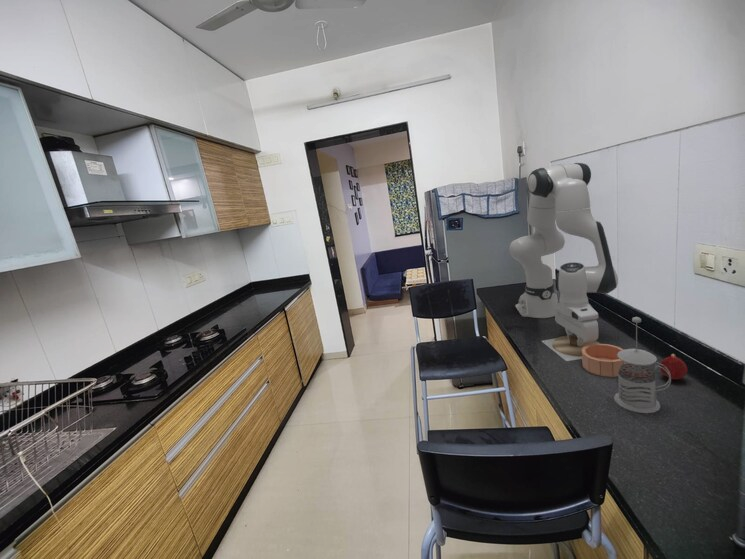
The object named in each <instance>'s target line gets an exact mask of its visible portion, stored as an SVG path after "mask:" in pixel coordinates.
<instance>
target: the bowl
mask: <svg viewBox="0 0 745 559" xmlns="http://www.w3.org/2000/svg"><path fill="white" fill-rule="evenodd" d="M622 350H625V349H624V348H622V347H620V346H616V345H613V344H608V343H600V344H591V345H586V346H585V347H583V348H582V359H581V361H582V362H581V363H582V368H583V369H584V370H586V371H587V372H589V373H591V374H594V375H597V376H601V377H609V378H610V377H611V378H615V377H618V372H619V370H620V366H621V365H623V364H628V363H626V362H623V361H622V360H620V359H619V358H618V355H617V354H618V352H619V351H622Z"/></svg>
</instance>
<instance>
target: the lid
mask: <svg viewBox="0 0 745 559" xmlns="http://www.w3.org/2000/svg"><path fill="white" fill-rule="evenodd" d="M554 339H555V338H554ZM577 339H578V338H577V335H575V334H573V335H571V336H570V340H569V339H568V335H564V336H559V337H556V339H555V340H554V341H553V342H552V345H553V348H554V349H555V350H556V351H558V352H560V353H563V354H566V355H571V356H582V348H583V347H585V346H586V345H591V344H599V343H600V342H599V341H597V340H596V341H597V342H596V341H591V342H587V341H585V340H584V341H583V345H582V346H578V345H577V344H576V340H577Z"/></svg>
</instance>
